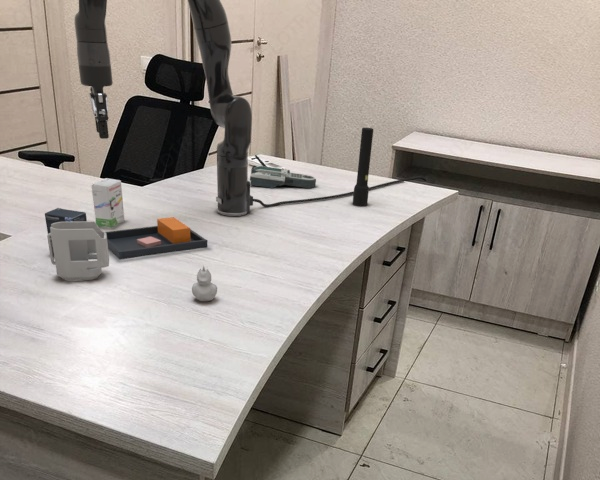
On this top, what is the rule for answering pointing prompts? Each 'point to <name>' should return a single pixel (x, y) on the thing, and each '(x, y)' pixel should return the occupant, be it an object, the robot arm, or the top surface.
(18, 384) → the top surface
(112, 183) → the ink box
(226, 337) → the top surface
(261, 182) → the communication device
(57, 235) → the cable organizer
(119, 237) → the tray
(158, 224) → the orange rectangular block
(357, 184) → the flashlight
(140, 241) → the pink block
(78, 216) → the box
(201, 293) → the rubber duck
